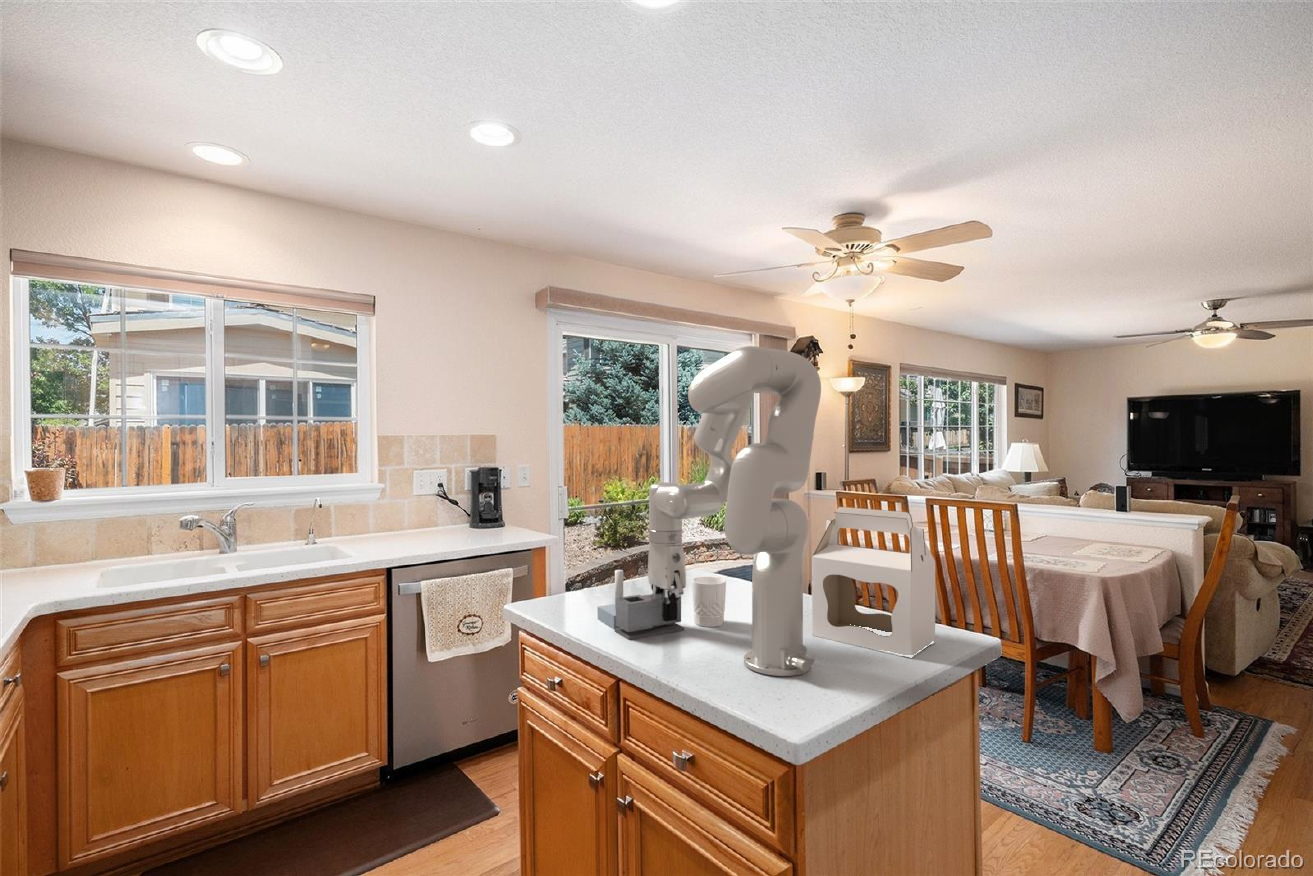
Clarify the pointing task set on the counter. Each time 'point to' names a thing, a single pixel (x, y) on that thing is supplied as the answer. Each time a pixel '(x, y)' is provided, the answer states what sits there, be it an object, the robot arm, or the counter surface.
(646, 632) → the mat
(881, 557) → the gable box
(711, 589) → the white cup
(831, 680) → the counter surface
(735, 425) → the robot arm
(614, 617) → the grey peg stand
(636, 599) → the block
